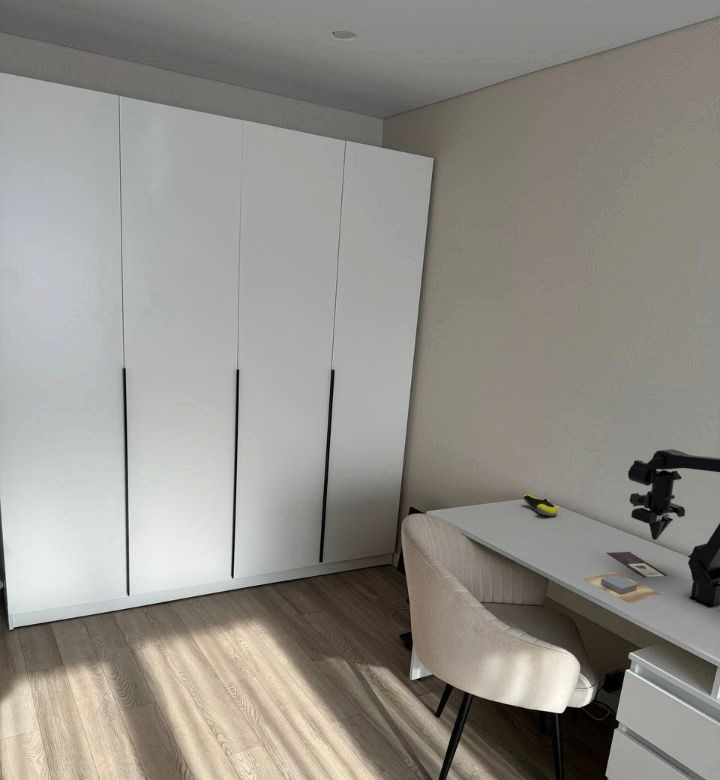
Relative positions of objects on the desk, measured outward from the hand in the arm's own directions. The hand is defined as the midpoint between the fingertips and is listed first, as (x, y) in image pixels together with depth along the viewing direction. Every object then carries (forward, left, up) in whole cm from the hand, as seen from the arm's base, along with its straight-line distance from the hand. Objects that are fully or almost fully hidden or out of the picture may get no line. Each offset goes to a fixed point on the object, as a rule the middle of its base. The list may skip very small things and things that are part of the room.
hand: (654, 539), depth 199 cm
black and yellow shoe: (+56, -12, -12) cm, 59 cm away
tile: (-2, +14, -11) cm, 17 cm away
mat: (-2, +16, -12) cm, 20 cm away
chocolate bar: (+7, -3, -13) cm, 15 cm away
